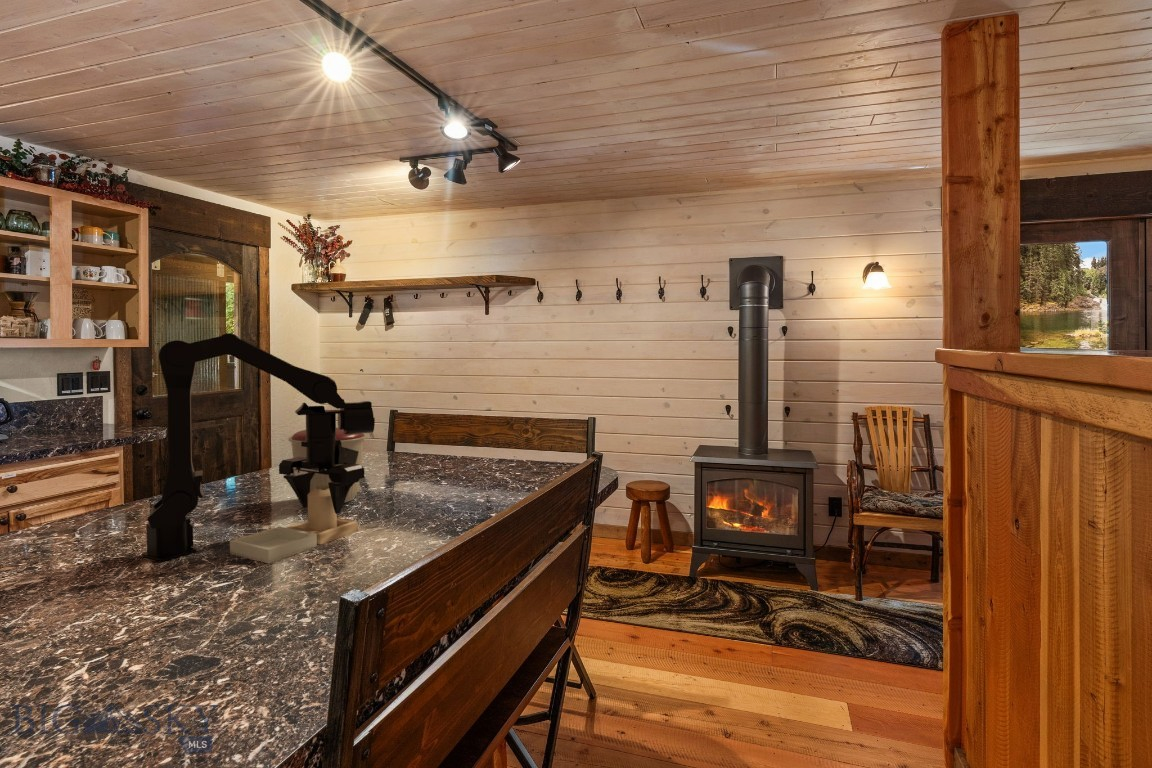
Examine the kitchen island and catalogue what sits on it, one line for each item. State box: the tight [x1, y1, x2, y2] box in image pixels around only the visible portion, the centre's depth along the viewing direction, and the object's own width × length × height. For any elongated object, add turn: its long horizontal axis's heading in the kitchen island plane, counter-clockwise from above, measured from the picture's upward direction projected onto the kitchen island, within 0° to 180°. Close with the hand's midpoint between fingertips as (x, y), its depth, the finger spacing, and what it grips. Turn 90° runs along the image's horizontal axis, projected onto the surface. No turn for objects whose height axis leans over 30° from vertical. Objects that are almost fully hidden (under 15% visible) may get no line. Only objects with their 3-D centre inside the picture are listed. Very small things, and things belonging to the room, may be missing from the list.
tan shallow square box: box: [285, 517, 359, 545], centre depth 128 cm, size 10×10×2 cm
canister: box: [287, 426, 367, 504], centre depth 155 cm, size 18×18×21 cm
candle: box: [307, 486, 338, 532], centre depth 128 cm, size 6×6×10 cm
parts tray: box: [229, 526, 318, 564], centre depth 118 cm, size 11×11×2 cm
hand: (321, 510), depth 128 cm, fingers open, 9 cm apart
